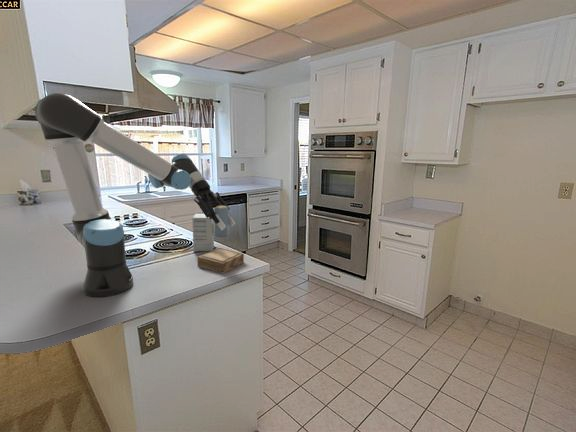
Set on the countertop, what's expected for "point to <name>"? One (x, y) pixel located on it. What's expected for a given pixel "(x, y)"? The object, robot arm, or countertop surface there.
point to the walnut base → (220, 260)
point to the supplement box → (203, 233)
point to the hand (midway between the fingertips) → (228, 226)
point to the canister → (223, 214)
